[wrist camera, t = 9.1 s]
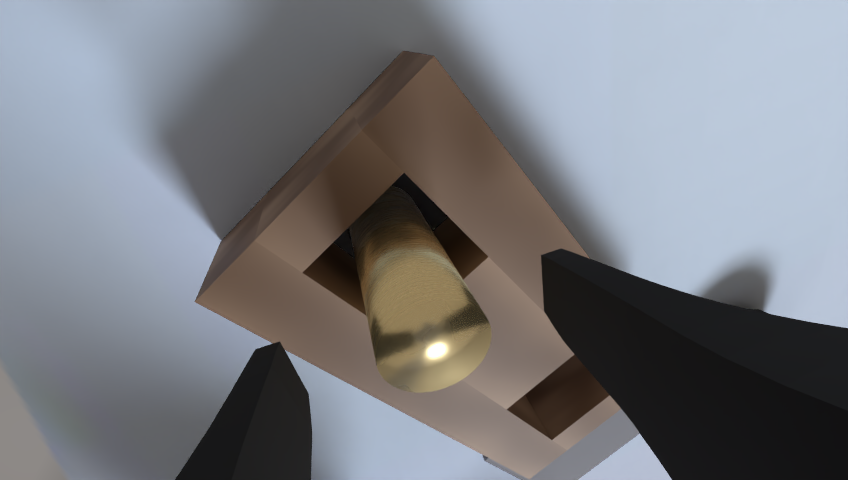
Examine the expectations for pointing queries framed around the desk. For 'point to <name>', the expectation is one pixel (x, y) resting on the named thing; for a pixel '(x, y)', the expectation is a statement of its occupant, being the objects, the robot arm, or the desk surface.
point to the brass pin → (415, 299)
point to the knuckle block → (462, 241)
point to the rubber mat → (585, 451)
